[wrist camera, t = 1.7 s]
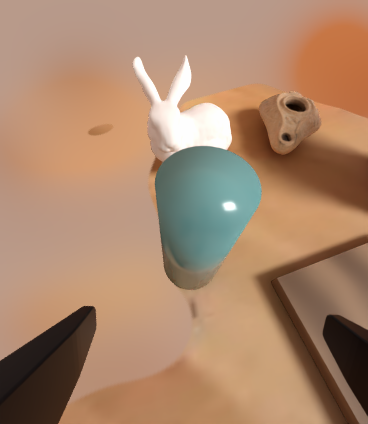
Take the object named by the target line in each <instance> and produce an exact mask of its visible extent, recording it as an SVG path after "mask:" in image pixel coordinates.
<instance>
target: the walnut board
mask: <svg viewBox="0 0 368 424" xmlns="http://www.w3.org/2000/svg"><path fill="white" fill-rule="evenodd" d="M271 283H272V285H273V287H274V289H275V291H276V292H277V294H278V296H279V298H280V300H281V302H282V303H283V305H284V307H285V309H286V311H287V313H288V314H289V316H290V318H291V320H292V322H293V323H294V325H295V327H296V329H297V331H298V333H299V334H300V336H301V338H302V340H303V342H304V344H305V345H306V347H307V349H308V351H309V353H310V355H311V356H312V358H313V360H314V362H315V364H316V366H317V367H318V369H319V371H320V373H321V375H322V377H323V378H324V380H325V382H326V384H327V386H328V388H329V389H330V391H331V393H332V395H333V397H334V399H335V400H336V402H337V404H338V406H339V408H340V409H341V411H342V413H343V415H344V417H345V419H346V420H347V422H348V424H368V416H367V415H366V413H365V412H364V410H363V408H362V407H361V405H360V404H359V402H358V400H357V399H356V397H355V395H354V394H353V392H352V391H351V389H350V387H349V386H348V384H347V382H346V380H345V379H344V377H343V375H342V373H341V371H340V369H339V367H338V365H337V363H336V361H335V360H334V358H333V356H332V354H331V352H330V350H329V348H328V346H327V344H326V342H325V340H324V338H323V334H322V331H323V327H324V323H325V319H326V316H327V315H329V314H337V315H341V316H343V317H344V318H346V319H348V320H350V321H352V322H354V323H356V324H358V325H360V326H361V327H363V328H365V329H367V330H368V243H366V244H364V245H361V246H358V247H356V248H353V249H351V250H348V251H345V252H343V253H340V254H338V255H335V256H333V257H330V258H327V259H325V260H322V261H320V262H317V263H314V264H312V265H309V266H307V267H304V268H301V269H299V270H296V271H294V272H291V273H289V274H286V275H283V276H281V277H278V278H276V279H274V280H273V281H271Z"/></svg>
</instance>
